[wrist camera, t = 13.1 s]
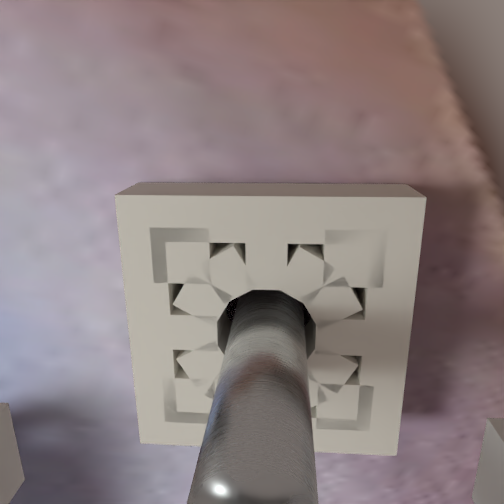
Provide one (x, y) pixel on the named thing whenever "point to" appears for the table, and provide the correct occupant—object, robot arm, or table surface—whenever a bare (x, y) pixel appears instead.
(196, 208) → the bore block
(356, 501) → the table surface
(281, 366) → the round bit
